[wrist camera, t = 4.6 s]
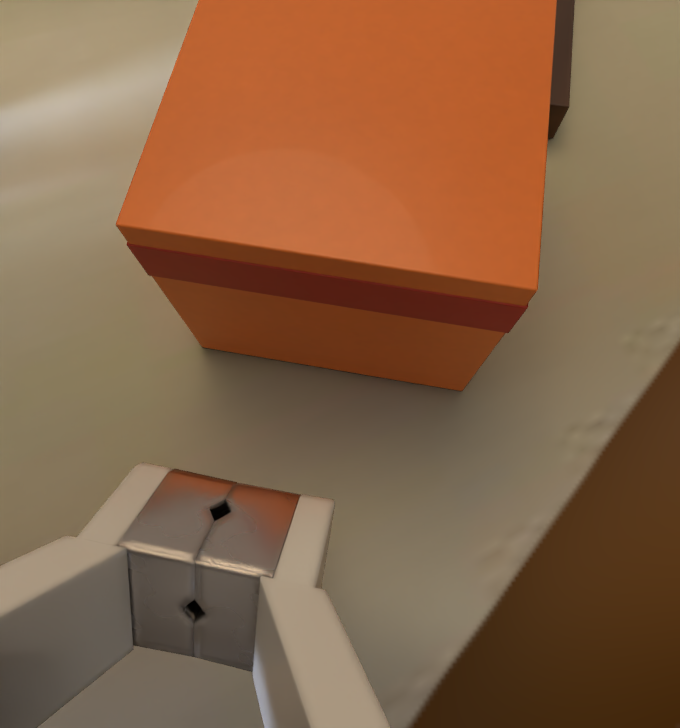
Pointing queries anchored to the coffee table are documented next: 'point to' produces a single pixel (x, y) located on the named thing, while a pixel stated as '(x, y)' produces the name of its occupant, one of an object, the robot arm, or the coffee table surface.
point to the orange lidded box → (351, 181)
